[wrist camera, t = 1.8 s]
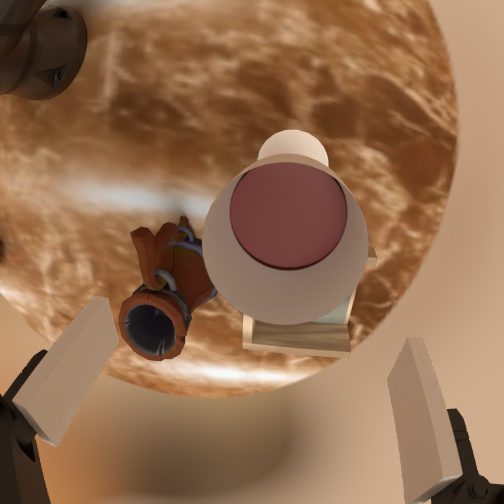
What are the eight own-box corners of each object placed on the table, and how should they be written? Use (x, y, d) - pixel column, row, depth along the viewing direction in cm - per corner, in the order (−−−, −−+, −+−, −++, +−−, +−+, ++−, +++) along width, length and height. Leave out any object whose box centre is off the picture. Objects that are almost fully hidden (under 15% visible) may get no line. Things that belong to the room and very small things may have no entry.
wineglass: (252, 198, 40) (202, 313, 20) (258, 120, 35) (204, 153, 15) (324, 208, 39) (345, 332, 19) (335, 129, 35) (386, 177, 15)
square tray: (253, 222, 42) (245, 245, 36) (367, 233, 40) (377, 258, 34) (249, 318, 49) (242, 348, 43) (345, 326, 48) (349, 357, 42)
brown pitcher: (147, 184, 41) (84, 229, 28) (229, 193, 40) (194, 246, 27) (153, 293, 50) (111, 357, 37) (222, 306, 49) (196, 379, 36)
